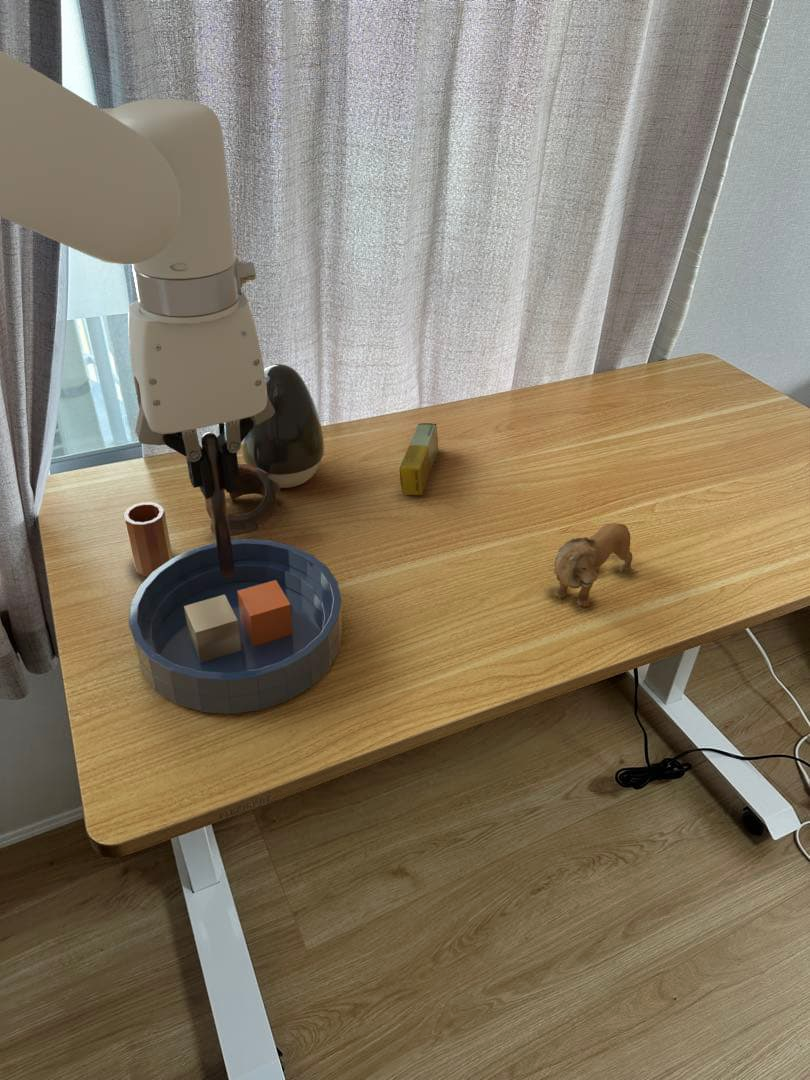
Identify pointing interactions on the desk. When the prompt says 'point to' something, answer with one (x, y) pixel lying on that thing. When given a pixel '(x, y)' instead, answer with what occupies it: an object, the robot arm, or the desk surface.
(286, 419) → the pump dispenser
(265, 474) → the pottery mug
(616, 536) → the lion figurine
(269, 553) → the bowl
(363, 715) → the desk surface
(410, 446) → the medication box
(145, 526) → the holder
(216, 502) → the stick
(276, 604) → the orange block
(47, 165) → the robot arm
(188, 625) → the pale block
